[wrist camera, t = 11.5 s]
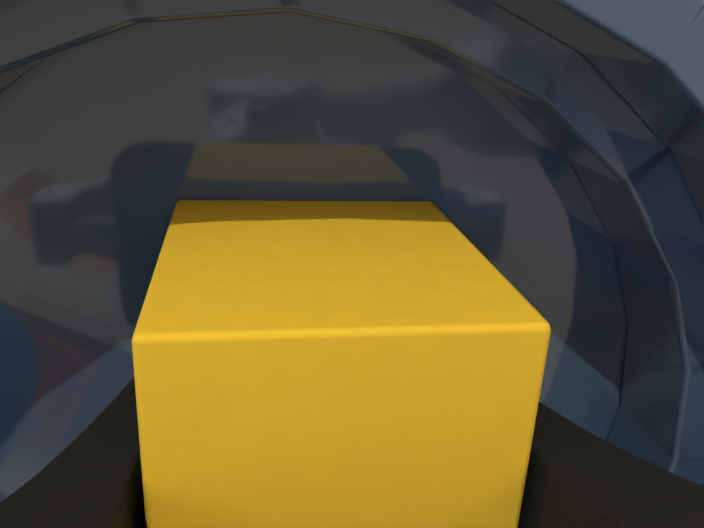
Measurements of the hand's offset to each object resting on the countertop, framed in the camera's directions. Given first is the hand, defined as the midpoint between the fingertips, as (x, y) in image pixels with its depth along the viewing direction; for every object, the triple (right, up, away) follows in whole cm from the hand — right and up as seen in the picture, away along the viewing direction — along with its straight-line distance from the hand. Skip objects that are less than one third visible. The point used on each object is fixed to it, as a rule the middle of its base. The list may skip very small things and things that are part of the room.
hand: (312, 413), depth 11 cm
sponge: (0, 0, +1) cm, 1 cm away
